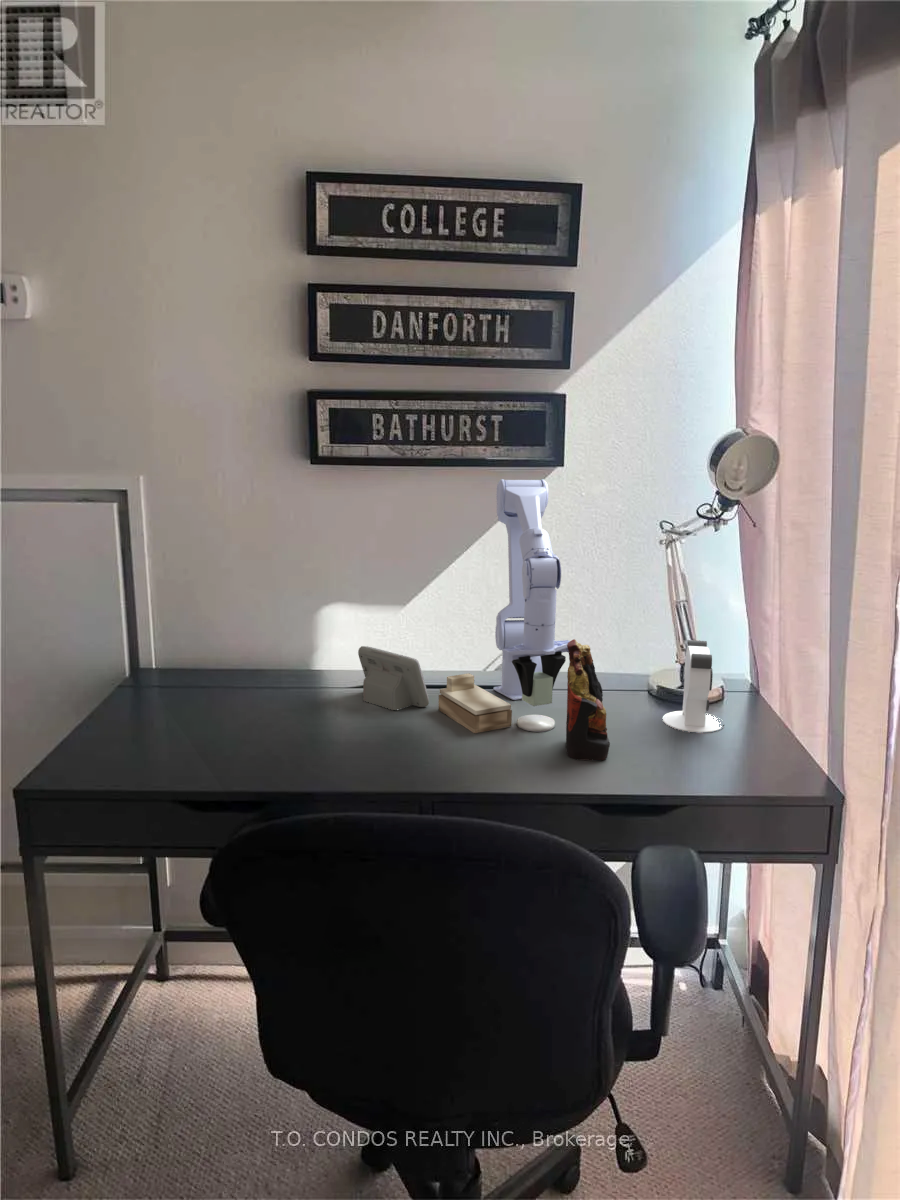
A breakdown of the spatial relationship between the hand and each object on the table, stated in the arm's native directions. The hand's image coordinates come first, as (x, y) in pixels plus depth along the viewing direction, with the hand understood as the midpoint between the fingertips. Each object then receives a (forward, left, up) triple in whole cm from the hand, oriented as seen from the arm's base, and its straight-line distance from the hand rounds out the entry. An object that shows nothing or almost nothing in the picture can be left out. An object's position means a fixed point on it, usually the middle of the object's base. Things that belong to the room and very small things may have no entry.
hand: (537, 693), depth 167 cm
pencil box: (+8, -9, -6) cm, 14 cm away
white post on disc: (-28, +12, -6) cm, 31 cm away
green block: (0, 0, -2) cm, 2 cm away
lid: (+8, -8, -3) cm, 12 cm away
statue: (-2, +13, -6) cm, 15 cm away
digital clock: (+18, -24, -7) cm, 31 cm away
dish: (0, 0, -6) cm, 6 cm away
